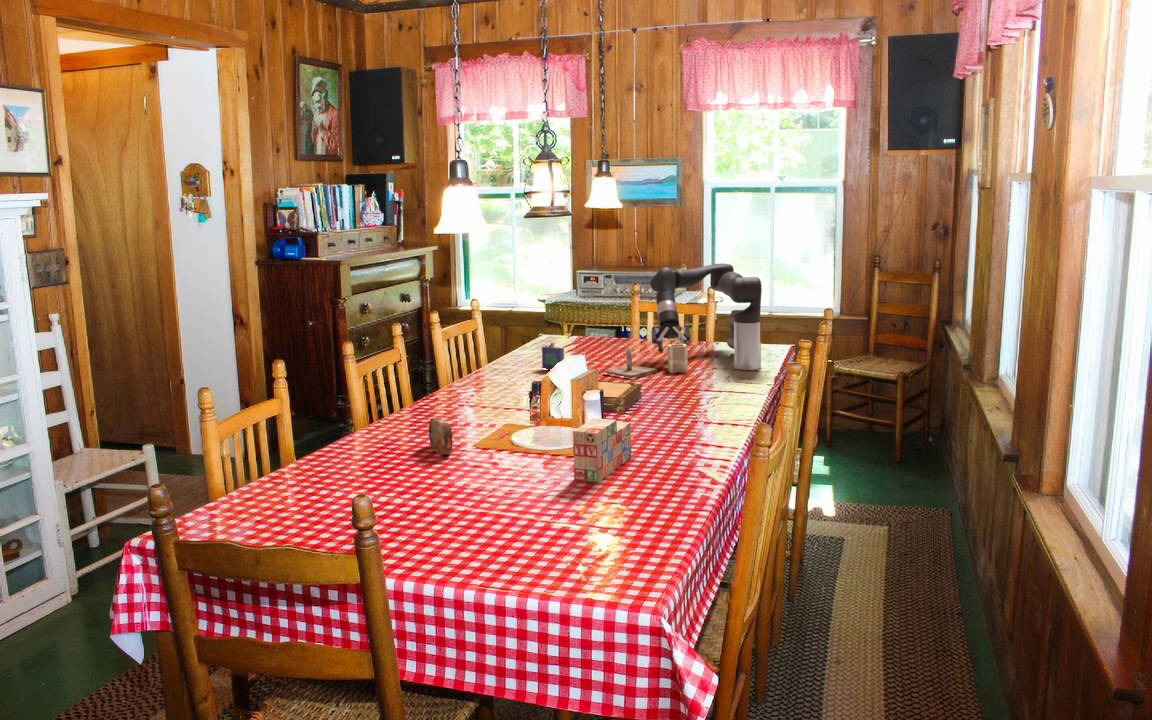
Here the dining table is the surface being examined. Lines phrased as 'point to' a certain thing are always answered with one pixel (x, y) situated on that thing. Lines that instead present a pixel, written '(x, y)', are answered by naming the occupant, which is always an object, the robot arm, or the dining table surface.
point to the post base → (632, 372)
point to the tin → (440, 436)
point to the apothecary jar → (732, 329)
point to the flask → (551, 355)
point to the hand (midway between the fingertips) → (673, 351)
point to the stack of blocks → (600, 448)
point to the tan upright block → (677, 358)
